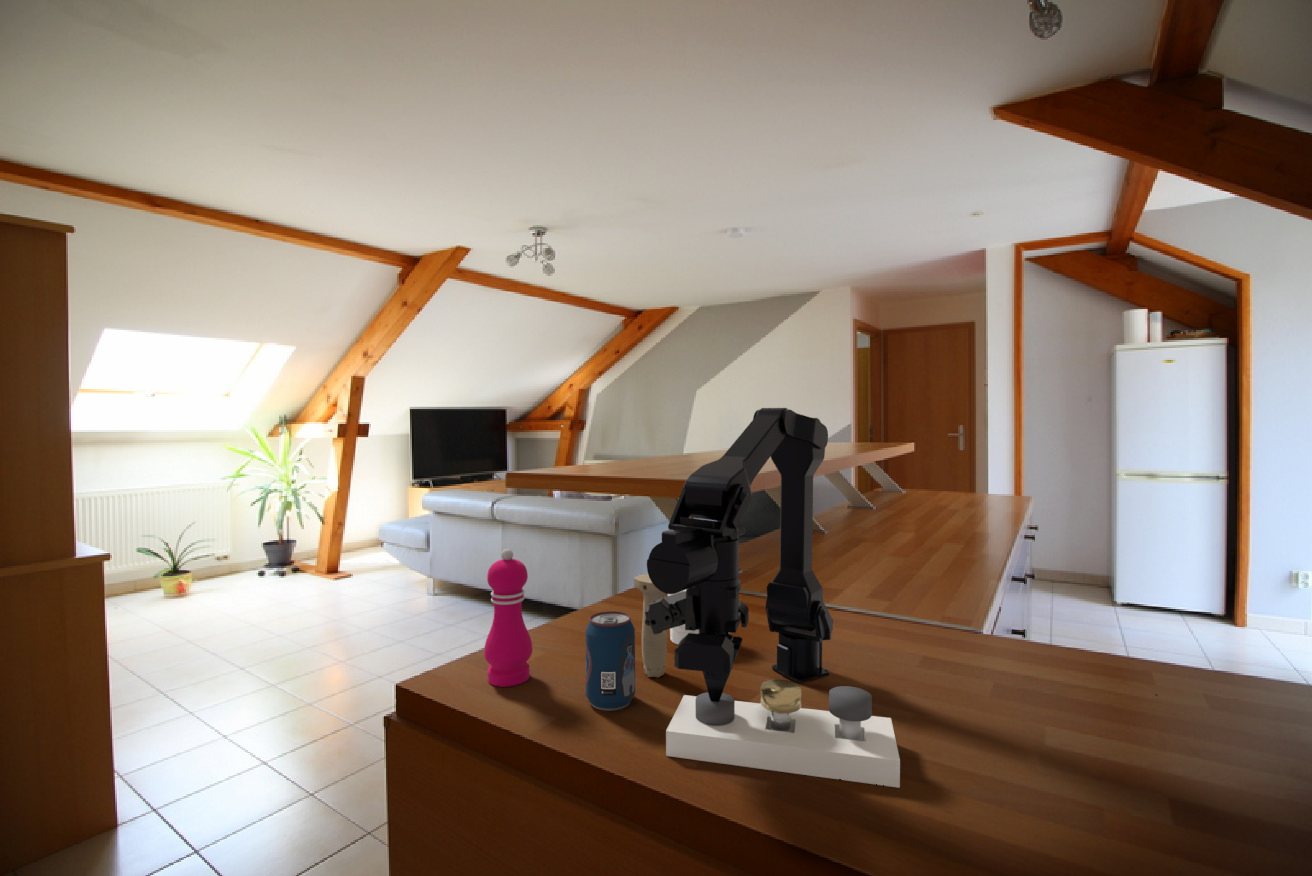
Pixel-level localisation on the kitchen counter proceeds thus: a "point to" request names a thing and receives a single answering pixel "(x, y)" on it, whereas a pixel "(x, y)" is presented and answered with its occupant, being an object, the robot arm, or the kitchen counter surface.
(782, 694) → the knob middle
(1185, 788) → the kitchen counter surface
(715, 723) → the knob
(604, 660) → the soda can
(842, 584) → the kitchen counter surface
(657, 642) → the handle
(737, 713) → the control plate
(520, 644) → the pepper mill
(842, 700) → the knob
